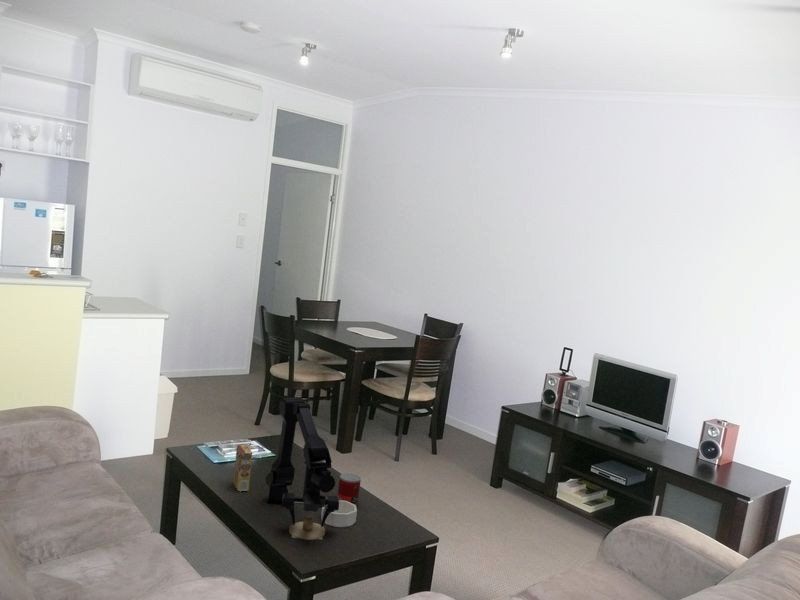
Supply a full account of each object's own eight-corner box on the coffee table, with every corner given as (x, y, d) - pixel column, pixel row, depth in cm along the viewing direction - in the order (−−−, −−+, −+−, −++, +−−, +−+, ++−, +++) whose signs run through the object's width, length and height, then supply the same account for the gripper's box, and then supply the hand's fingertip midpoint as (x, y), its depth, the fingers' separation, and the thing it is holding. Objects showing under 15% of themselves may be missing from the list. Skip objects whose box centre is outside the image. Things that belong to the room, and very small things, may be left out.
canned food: (354, 511, 250) (357, 482, 249) (333, 506, 252) (337, 478, 251) (359, 503, 258) (363, 475, 257) (339, 499, 259) (342, 471, 258)
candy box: (248, 491, 256) (253, 452, 254) (237, 492, 254) (241, 452, 252) (243, 483, 264) (247, 444, 262) (232, 483, 262) (236, 445, 260)
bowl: (321, 527, 234) (323, 513, 233) (320, 512, 246) (322, 499, 245) (356, 529, 236) (357, 515, 235) (353, 514, 247) (355, 501, 247)
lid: (288, 538, 221) (290, 524, 221) (289, 522, 233) (291, 509, 233) (325, 540, 223) (327, 526, 223) (324, 524, 235) (326, 511, 234)
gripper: (284, 488, 217) (278, 535, 219) (342, 492, 220) (336, 538, 221) (284, 475, 228) (279, 520, 230) (340, 479, 231) (335, 523, 232)
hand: (307, 525), depth 228 cm, fingers open, 9 cm apart
